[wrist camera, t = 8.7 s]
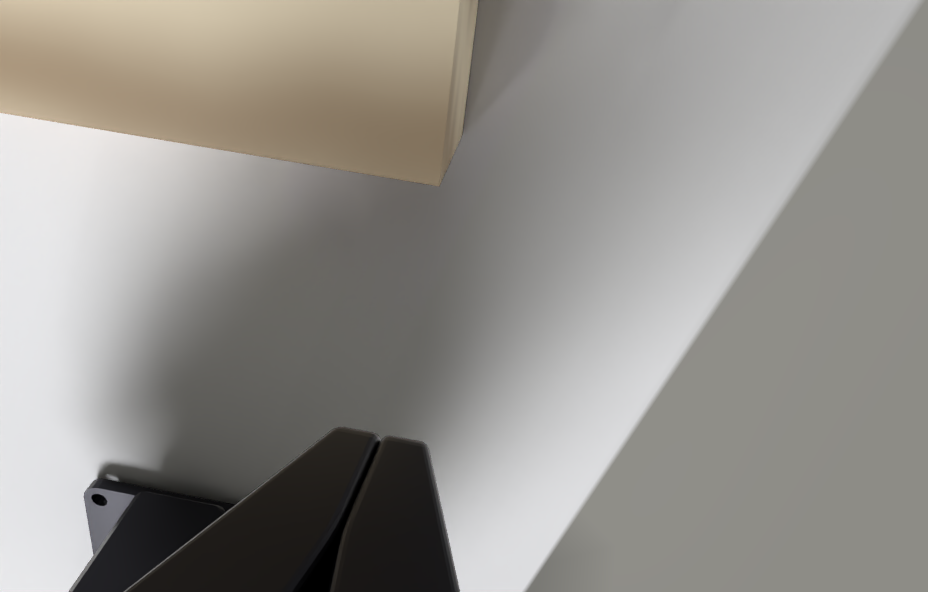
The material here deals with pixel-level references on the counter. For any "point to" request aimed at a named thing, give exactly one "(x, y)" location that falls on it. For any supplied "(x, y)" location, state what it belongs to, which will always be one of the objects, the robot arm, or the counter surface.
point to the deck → (252, 76)
